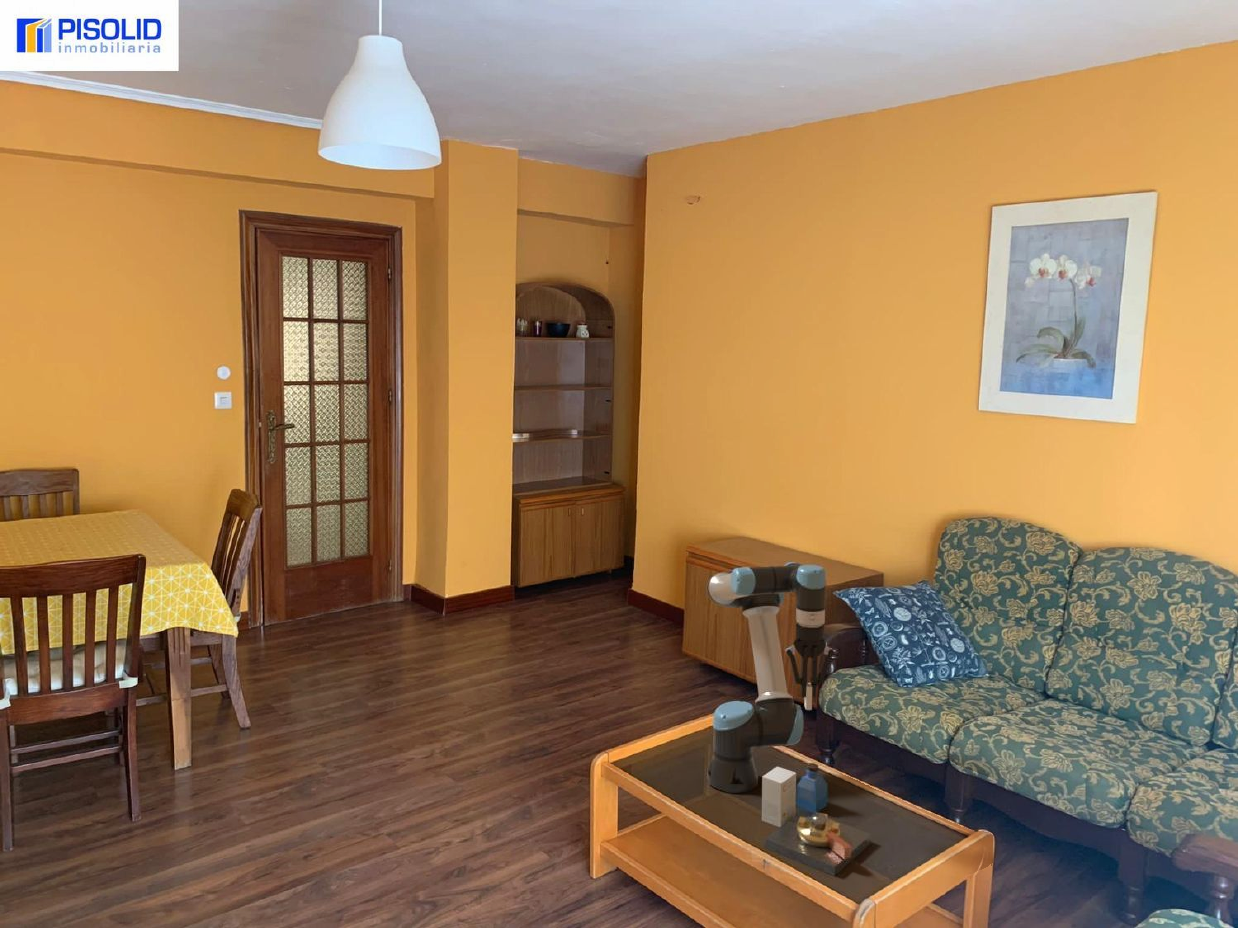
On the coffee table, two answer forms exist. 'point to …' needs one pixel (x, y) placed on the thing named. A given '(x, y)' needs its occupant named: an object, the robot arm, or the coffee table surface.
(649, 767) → the coffee table surface
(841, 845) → the gold tabbed disc
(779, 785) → the small box
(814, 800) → the perfume bottle
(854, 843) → the flange plate
